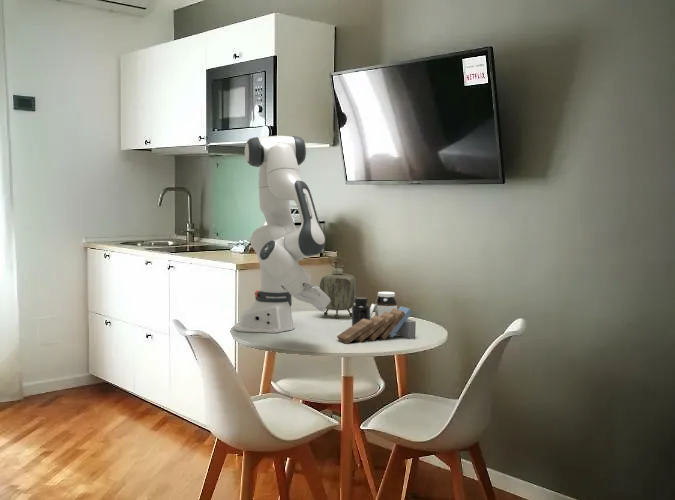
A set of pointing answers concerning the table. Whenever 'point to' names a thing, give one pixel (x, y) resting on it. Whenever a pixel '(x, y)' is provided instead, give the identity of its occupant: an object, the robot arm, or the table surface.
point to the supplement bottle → (360, 310)
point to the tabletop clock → (339, 289)
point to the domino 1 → (355, 330)
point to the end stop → (407, 329)
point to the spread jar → (384, 303)
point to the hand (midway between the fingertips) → (323, 309)
